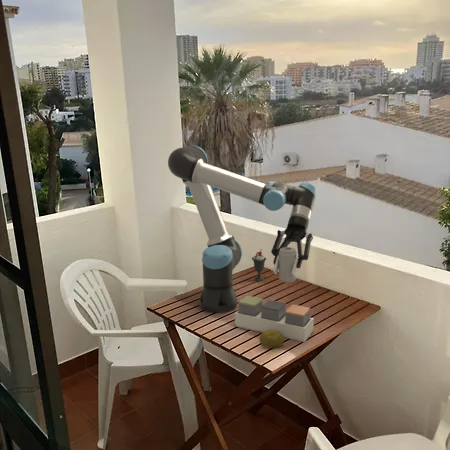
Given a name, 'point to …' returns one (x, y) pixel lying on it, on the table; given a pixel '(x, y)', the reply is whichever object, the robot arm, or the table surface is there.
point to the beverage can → (286, 264)
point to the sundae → (259, 264)
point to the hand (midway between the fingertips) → (284, 274)
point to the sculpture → (271, 338)
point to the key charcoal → (273, 310)
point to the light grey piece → (274, 326)
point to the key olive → (250, 305)
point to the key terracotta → (297, 315)
